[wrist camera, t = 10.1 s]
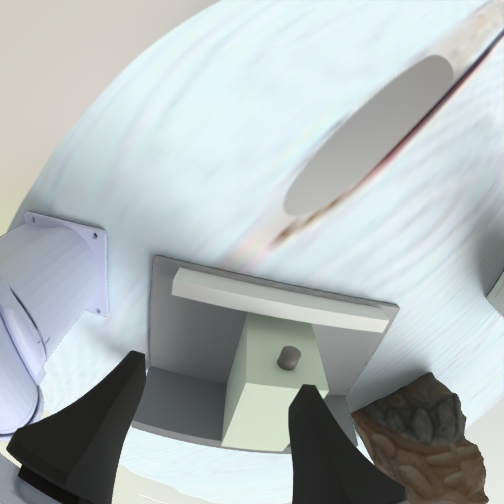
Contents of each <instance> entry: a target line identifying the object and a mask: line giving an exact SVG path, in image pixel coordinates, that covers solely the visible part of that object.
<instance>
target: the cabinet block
mask: <svg viewBox="0 0 504 504" xmlns="http://www.w3.org/2000/svg"><path fill="white" fill-rule="evenodd" d="M303 384H309V385H315V386H316V387H317V389H318V391H319V393H320V394H321V396H322V398H323V399H324V398H325V396H326V395H327V393H328V392H329V388H328V384H327V380H326V376H325V372H324V368H323V365H322V361H321V357H320V353H319V350H318V346H317V342H316V338H315V335H314V331H313V328H312V324H311V323H307V322H301V321H295V320H289V319H284V318H278V317H273V316H267V315H262V314H257V313H252V312H248V313H247V316H246V320H245V323H244V327H243V330H242V334H241V337H240V341H239V344H238V347H237V351H236V354H235V358H234V361H233V365H232V368H231V372H230V375H229V378H228V382H227V388H226V399H225V409H224V420H223V431H222V442H221V446H225V447H233V448H241V449H251V450H263V451H283V450H284V449H285V448H286V447H287V445H288V444H289V443H290V437H289V429H288V408H289V406H290V404H291V403H292V401H293V400H294V398H295V396H296V395H297V393H298V391H299V390H300V388H301V386H302V385H303Z"/></svg>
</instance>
